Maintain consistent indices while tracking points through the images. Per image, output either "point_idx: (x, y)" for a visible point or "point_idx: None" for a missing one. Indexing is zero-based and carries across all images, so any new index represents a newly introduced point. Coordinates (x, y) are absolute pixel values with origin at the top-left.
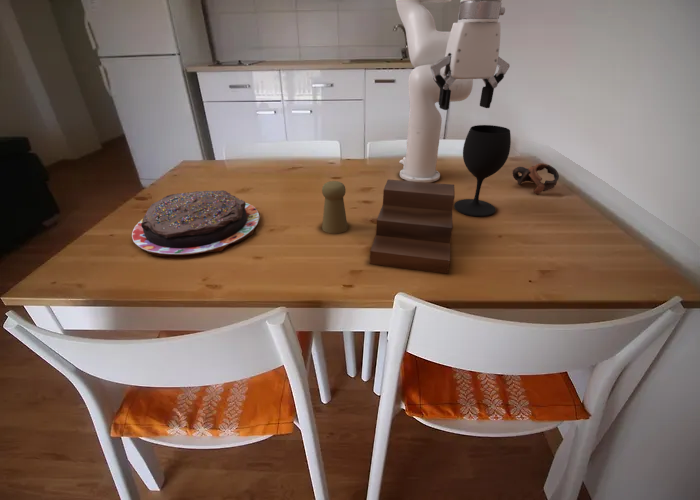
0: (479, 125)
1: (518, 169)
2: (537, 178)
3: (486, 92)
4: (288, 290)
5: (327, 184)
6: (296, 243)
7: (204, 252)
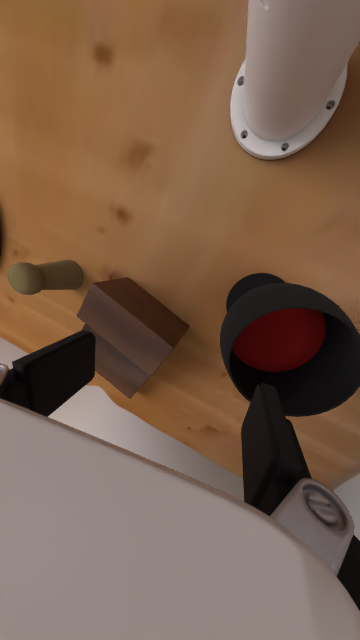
0: (309, 308)
1: None
2: None
3: (253, 471)
4: (33, 349)
5: (9, 279)
6: None
7: None
